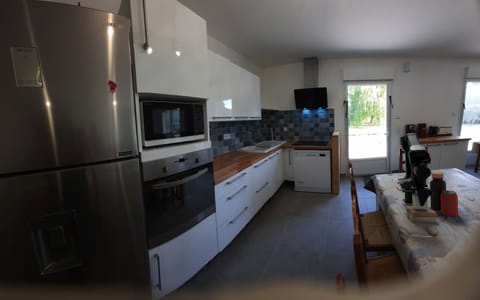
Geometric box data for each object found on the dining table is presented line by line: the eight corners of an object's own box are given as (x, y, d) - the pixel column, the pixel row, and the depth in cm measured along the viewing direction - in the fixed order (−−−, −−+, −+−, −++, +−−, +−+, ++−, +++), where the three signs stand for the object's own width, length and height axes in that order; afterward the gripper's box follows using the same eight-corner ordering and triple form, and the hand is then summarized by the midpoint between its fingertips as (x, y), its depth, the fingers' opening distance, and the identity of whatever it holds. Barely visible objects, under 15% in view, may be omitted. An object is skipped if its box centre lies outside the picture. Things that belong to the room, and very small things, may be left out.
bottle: (440, 212, 126) (439, 175, 124) (427, 208, 132) (426, 173, 130) (450, 209, 127) (449, 173, 126) (436, 206, 134) (435, 171, 132)
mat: (404, 213, 129) (404, 212, 129) (429, 214, 125) (429, 213, 125) (411, 223, 116) (411, 223, 116) (439, 225, 112) (439, 224, 112)
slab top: (405, 210, 126) (405, 206, 126) (426, 210, 124) (426, 205, 124) (413, 217, 117) (413, 212, 117) (436, 217, 115) (436, 212, 114)
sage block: (412, 205, 123) (412, 194, 123) (424, 205, 121) (424, 194, 121) (415, 208, 119) (415, 197, 118) (427, 209, 117) (427, 197, 116)
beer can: (450, 211, 125) (449, 189, 124) (462, 216, 118) (461, 192, 117) (437, 213, 125) (437, 191, 124) (449, 218, 118) (448, 194, 117)
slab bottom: (406, 214, 127) (406, 210, 127) (428, 214, 123) (428, 210, 123) (412, 221, 118) (411, 216, 118) (435, 222, 114) (435, 217, 114)
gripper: (395, 170, 130) (397, 198, 132) (404, 178, 113) (405, 210, 115) (420, 170, 126) (421, 198, 127) (433, 178, 109) (434, 211, 110)
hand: (420, 204), depth 120 cm, fingers closed on sage block, 5 cm apart
